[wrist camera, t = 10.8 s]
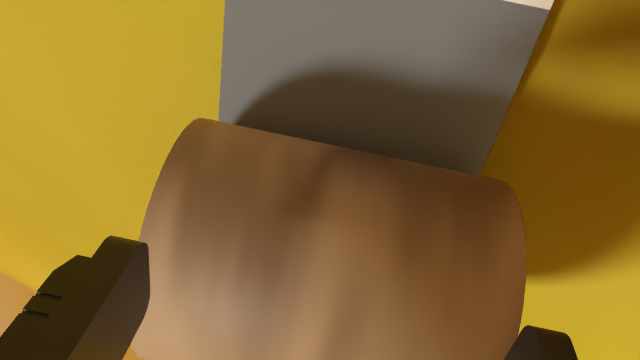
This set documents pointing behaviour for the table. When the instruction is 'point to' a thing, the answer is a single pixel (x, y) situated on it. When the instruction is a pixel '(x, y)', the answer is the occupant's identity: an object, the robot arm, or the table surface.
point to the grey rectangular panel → (379, 73)
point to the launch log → (325, 254)
